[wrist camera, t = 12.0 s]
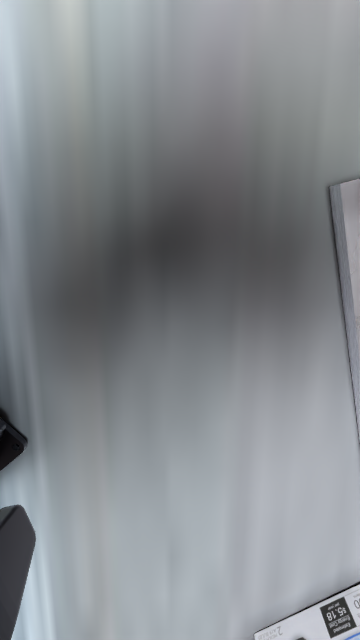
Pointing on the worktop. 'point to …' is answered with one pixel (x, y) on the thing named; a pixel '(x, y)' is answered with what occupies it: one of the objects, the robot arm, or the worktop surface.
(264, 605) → the worktop surface
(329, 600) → the light bulb box
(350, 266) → the square socket
